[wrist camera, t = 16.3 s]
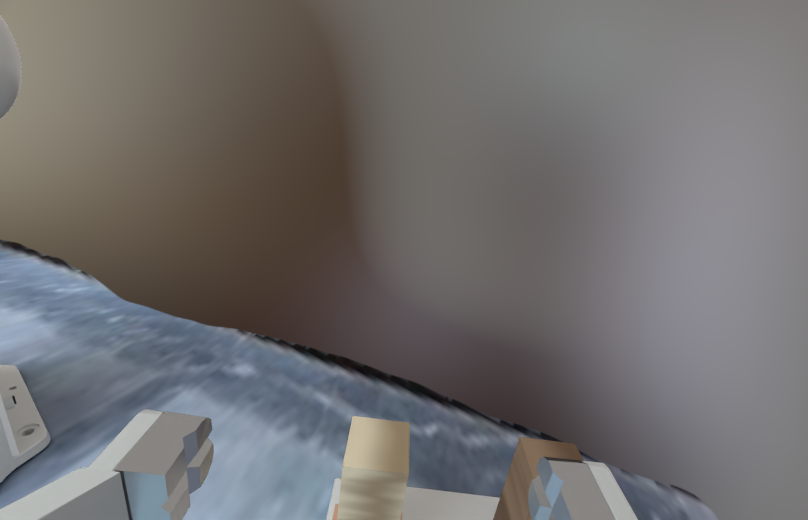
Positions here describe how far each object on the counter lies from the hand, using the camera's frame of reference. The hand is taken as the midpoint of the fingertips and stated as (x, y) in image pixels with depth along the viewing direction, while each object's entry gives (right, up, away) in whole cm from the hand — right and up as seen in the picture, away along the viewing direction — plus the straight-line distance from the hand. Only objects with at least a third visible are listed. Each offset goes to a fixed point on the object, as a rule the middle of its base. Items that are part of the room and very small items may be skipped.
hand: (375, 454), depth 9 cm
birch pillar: (-3, -18, +21) cm, 28 cm away
